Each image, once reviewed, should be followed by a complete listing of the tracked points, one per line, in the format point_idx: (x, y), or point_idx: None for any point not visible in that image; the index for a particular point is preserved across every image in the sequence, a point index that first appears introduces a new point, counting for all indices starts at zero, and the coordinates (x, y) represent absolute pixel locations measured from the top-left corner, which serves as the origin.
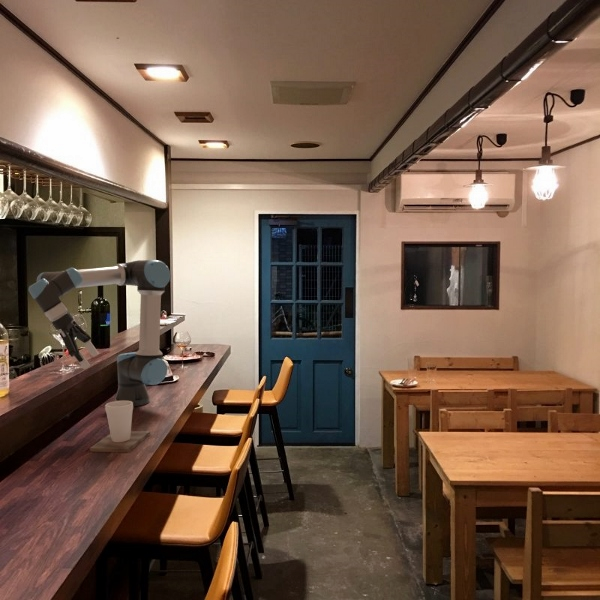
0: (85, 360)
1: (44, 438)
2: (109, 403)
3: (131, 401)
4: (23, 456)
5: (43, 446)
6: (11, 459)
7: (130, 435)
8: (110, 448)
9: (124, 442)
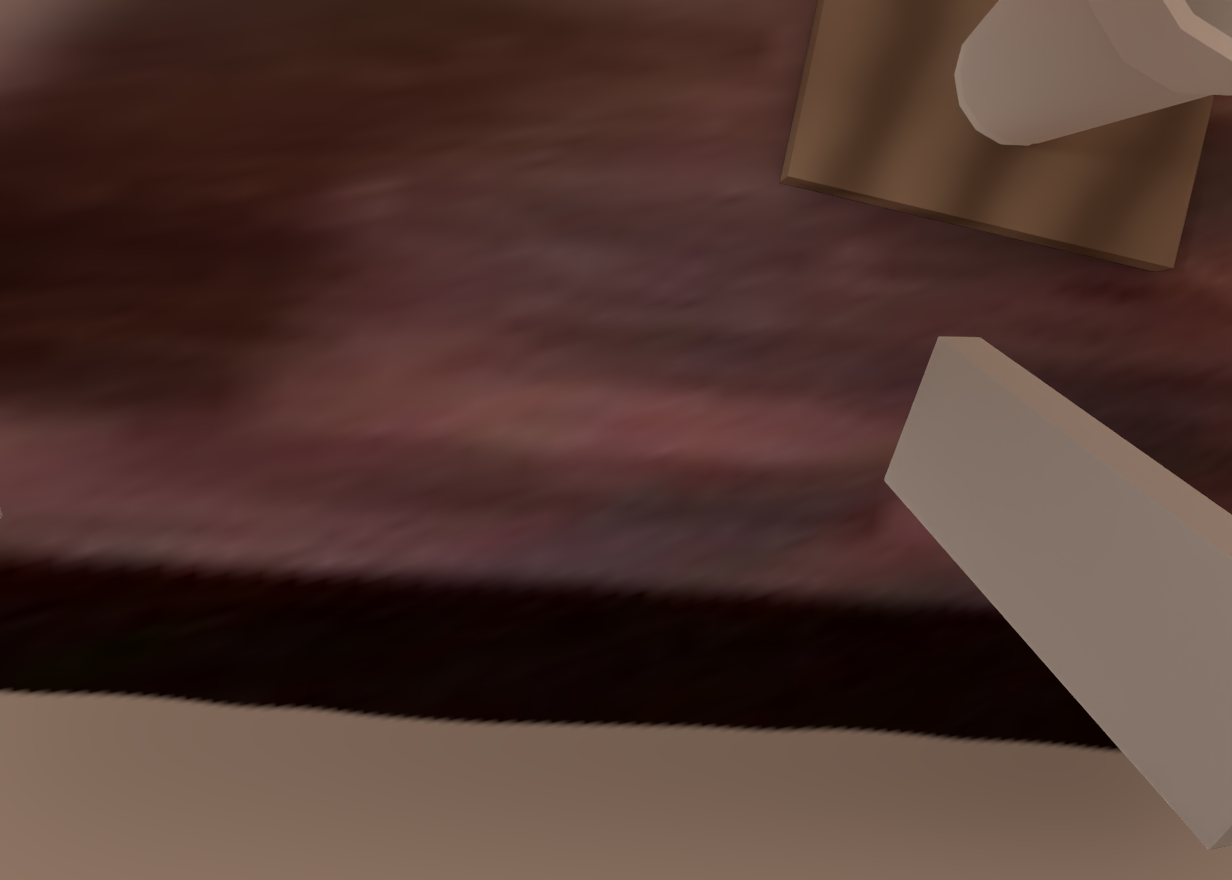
0: (1104, 440)
1: (802, 691)
2: (1221, 36)
3: None
4: None
5: (986, 630)
6: None
7: (938, 18)
8: (1209, 115)
9: None
